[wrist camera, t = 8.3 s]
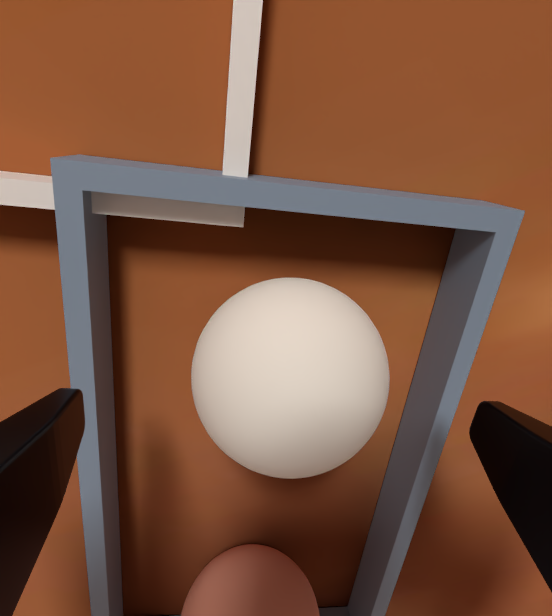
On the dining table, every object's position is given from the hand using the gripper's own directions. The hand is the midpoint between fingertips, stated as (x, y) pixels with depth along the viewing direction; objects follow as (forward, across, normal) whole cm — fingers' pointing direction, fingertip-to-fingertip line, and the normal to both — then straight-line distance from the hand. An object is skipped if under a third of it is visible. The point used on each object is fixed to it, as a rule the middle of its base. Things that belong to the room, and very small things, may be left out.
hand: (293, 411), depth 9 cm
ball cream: (+4, 0, 0) cm, 4 cm away
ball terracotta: (+4, 0, +10) cm, 11 cm away
